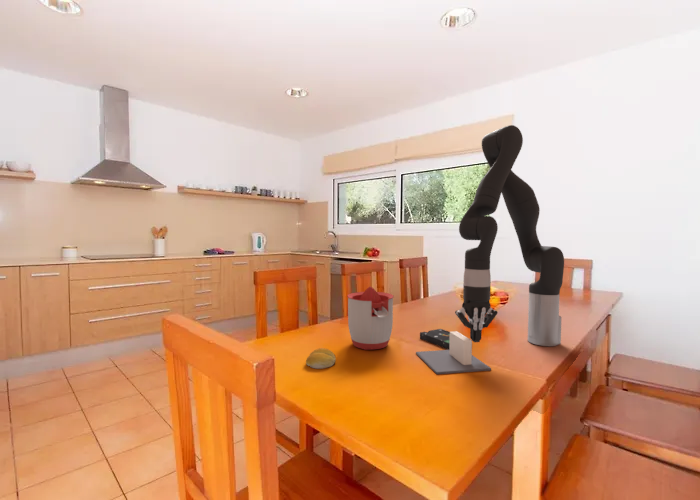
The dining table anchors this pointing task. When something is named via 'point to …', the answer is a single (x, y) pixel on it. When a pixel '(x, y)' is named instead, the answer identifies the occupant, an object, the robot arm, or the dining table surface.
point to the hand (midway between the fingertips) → (475, 341)
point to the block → (460, 348)
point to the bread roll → (321, 358)
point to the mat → (449, 362)
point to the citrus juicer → (370, 318)
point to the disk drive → (437, 337)
